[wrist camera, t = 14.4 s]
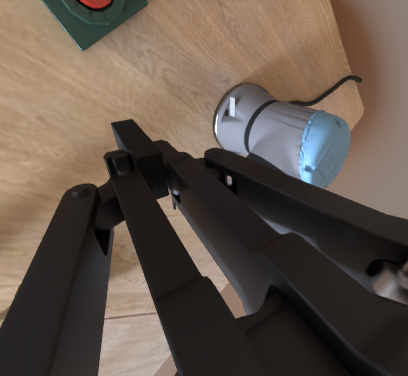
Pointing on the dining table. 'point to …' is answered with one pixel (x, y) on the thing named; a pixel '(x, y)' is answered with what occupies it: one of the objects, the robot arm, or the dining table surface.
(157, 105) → the dining table surface
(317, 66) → the dining table surface
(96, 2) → the button
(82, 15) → the button housing
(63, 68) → the dining table surface
